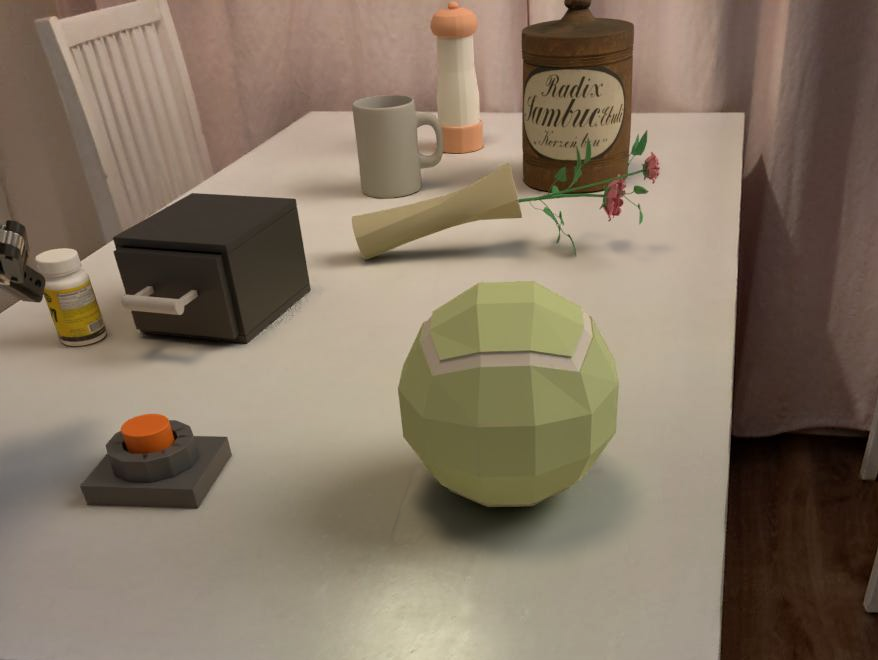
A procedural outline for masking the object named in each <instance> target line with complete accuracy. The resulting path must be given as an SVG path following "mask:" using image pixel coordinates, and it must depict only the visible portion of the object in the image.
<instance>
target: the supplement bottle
mask: <svg viewBox="0 0 878 660" xmlns="http://www.w3.org/2000/svg"><path fill="white" fill-rule="evenodd" d="M34 261H35V264H36V266H37V272H38V273H40V274H41V275H43V276H44V278H45V281H46V283H45V288H44V293H43V298H44V300H45V303H46V305H47V308H48V311H49V313H50V316H51V319H52V322H53V325H54V327H55V330H56V333H57V336H58V339H59V341H60V342H61V343H62V344H63V345H65V346H69V347H83V346H87V345H91V344H95V343H97V342H99V341H102V339H104V338H105V337H106V336H107V333H108V331H107V330H108V329H107V327H106V324H105V322H104V318H103V315H102V312H101V309H100V306H99V302H98V300H97V296H96V293H95V291H94V288H93V285H92V281H91V278H90V275H89V273H88V272H87V270H85V269H83V268H82V267H83V266H82V261H81V259H80V256H79V253H78V251H77V250H76V249H73V248H66V247H65V248H63V247H62V248H54V249H48V250H45V251H42V252H40V253H38V254H37V255H36V256H35V258H34Z"/></svg>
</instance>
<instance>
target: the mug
mask: <svg viewBox="0 0 878 660" xmlns="http://www.w3.org/2000/svg"><path fill="white" fill-rule="evenodd" d="M351 106H352V107H351V108H352V118H353V125H354V133H355V141H356V151H357V158H358V165H359V166H358V167H359V168H358V169H359V177H360V187H361V191H362V193H363V194H364V195H366V196H368V197H371V198H379V199H393V198H402V197H407V196H410V195H412V194H415V192H416V193H417V192H419V191H420V190H421V188H422V171H421V169H422V170H423V169H429V168H433V167H436V166H437V165H438V164H439V163H440V162H441V160H442V158H443V154H444V152H443V133H442V128H441V125H440V122H439V120H438V116H436V115H435V114H434V113H431V112H426V111H417V110H416V102H415V99H414V98H413V97H411V96H409V95H403V94H379V95H372V96H366V97H362V98H359V99H356V100H354V101H353V103H352V105H351ZM422 126H430V127H431V128H433V130H434V131H433V132H434V133H435V139H436V146H435V151H434V152H433V154H429V155H424V154H423V153H420V147H419V139H418V128H419V127H422Z"/></svg>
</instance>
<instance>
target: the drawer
mask: <svg viewBox="0 0 878 660" xmlns="http://www.w3.org/2000/svg"><path fill="white" fill-rule="evenodd" d="M112 253H113V255H114V258H115V262H116V265H117V269H118V272H119V276H120V279H121V282H122V285H123V289H124V292H125V294H124V295H123V296H122V297H121V306H122V308H123V309H124V310H126V311H130V313H131V316H132V320H133V322H134V326H135V329H136V330H138V331H140V330H148V331H158V332H168V333H178V334H188V335H198V336H208V337H218V338H227V339H235V338H236V337H237V336H239V335H240V333H239V328H238V324H237V319H236V315H235V310H234V306H233V302H232V297H231V293H230V288H229V284H228V279H227V275H226V270H225V266H224V261H223V257H222V255H221V253H213V252H199V251H186V250H172V249H158V248H145V247H135V248H122V247H120V248H118V249H117V250H116V249H115V250H113V251H112Z"/></svg>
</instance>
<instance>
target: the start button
mask: <svg viewBox="0 0 878 660" xmlns="http://www.w3.org/2000/svg"><path fill="white" fill-rule="evenodd" d="M169 420H170V419H169V418H168V417H167V416H166V415H164V414H160V413H144V414H140V415H137V416H134V417H131V418H129V419H128V420H125V422H124V423H123V424H122V425H121V427H120V431H121V433H122V436H123V439H124V441H125V444H126V447H127V450H128V452H130V453H132V454H148V453H152V452H157V451H161V450H163V449H165V448H167V447H169V446H171V445H172V444H173V443H174V436H173V433H172V429H171V426H170V423H169Z"/></svg>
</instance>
